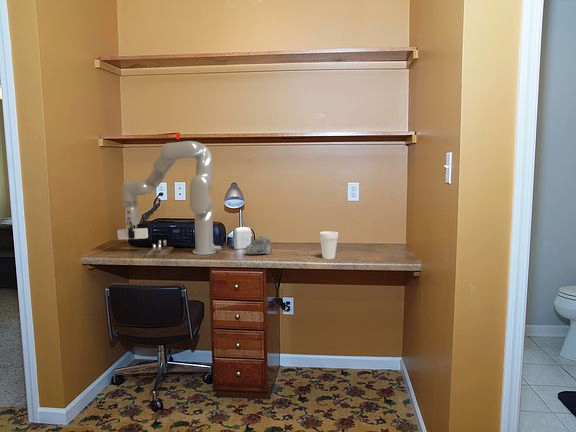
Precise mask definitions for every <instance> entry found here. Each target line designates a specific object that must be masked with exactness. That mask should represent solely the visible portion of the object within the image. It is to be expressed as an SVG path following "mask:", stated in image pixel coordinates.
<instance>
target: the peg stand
mask: <svg viewBox="0 0 576 432" xmlns="http://www.w3.org/2000/svg"><path fill="white" fill-rule="evenodd" d="M173 250H174V246H167V239H164V240H163V246H162V239H159V240H158V243H157V246H156V243H153V244H152V249H151V250H149V251H148V252H146V253H145V258H166V257H167V256H168V255H169V254H170V253H171V252H172V251H173Z"/></svg>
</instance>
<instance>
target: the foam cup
mask: <svg viewBox="0 0 576 432" xmlns="http://www.w3.org/2000/svg"><path fill="white" fill-rule="evenodd" d="M338 238H339V232H338V231H331V230H330V231H328V230H327V231H326V230H325V231H320V232H319V239H320V247H321V255H322V259H326V260H333V259H335V258H336V253H337V246H338Z"/></svg>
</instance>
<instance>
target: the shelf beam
mask: <svg viewBox="0 0 576 432" xmlns="http://www.w3.org/2000/svg"><path fill="white" fill-rule="evenodd" d="M116 232H117V240H139V239H142V240H143V239H149V229H148V227H145V228H140V227H139V228H137V229H134V234H135V238H131V239H129V238H128V228H120V229H118V230H116Z"/></svg>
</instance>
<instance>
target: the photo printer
mask: <svg viewBox="0 0 576 432" xmlns="http://www.w3.org/2000/svg"><path fill="white" fill-rule="evenodd" d="M251 243H252V228H250V227H249V226H248V227H247V226H240V227H236V228H235V229H234V230H233V247H234V250H241V249H242V250H243V249H247V248H246V247H247V246H248V245H250V244H251Z"/></svg>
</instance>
